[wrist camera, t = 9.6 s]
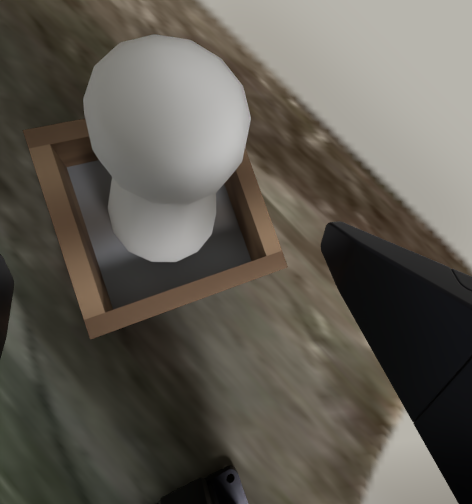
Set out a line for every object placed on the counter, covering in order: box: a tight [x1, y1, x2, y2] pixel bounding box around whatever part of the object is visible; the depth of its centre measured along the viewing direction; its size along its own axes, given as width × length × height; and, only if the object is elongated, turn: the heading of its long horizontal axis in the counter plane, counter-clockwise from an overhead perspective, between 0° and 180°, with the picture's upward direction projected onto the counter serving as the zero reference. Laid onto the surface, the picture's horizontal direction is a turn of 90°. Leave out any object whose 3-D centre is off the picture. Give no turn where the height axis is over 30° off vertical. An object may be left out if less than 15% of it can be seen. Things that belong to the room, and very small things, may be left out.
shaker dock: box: [23, 119, 288, 340], centre depth 19 cm, size 11×11×4 cm
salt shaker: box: [83, 34, 251, 262], centre depth 14 cm, size 6×6×13 cm
